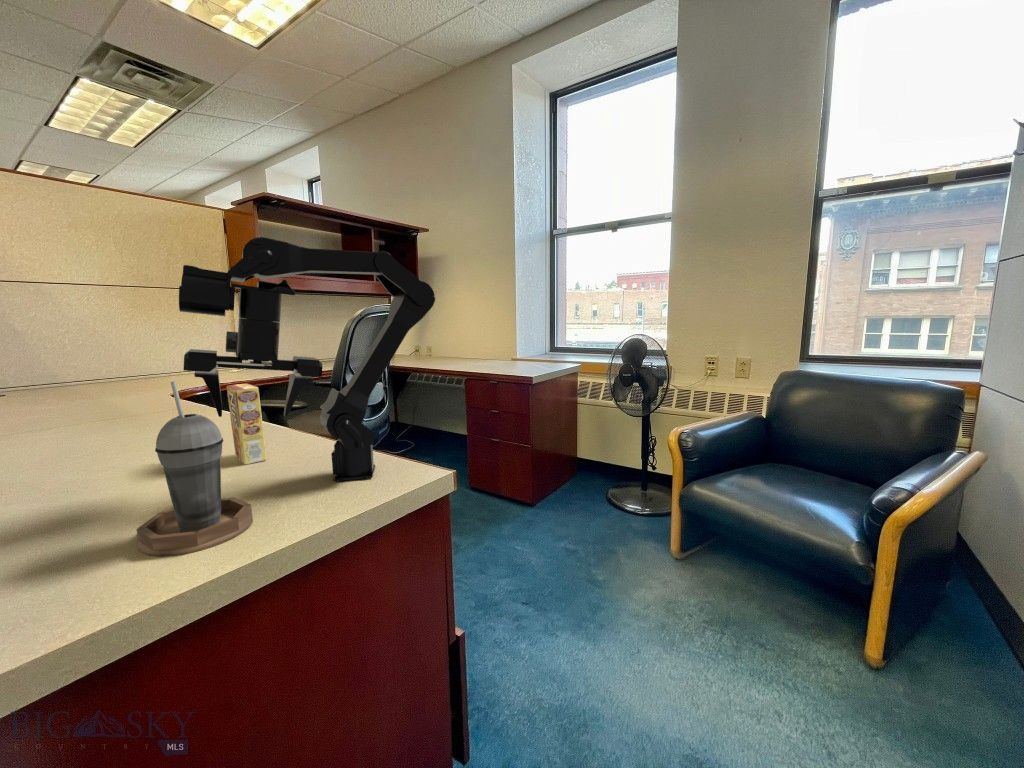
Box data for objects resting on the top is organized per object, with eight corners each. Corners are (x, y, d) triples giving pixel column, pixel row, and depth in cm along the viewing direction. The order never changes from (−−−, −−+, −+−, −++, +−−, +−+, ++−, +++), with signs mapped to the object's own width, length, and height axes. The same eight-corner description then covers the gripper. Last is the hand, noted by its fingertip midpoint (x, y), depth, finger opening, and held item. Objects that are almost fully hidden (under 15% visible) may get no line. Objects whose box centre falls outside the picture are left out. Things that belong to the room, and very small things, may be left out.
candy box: (267, 460, 89) (260, 386, 87) (244, 465, 86) (235, 389, 84) (255, 451, 95) (248, 382, 93) (233, 456, 92) (225, 385, 90)
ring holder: (265, 507, 66) (264, 493, 66) (231, 548, 54) (230, 532, 54) (171, 516, 64) (169, 501, 63) (113, 562, 52) (111, 544, 51)
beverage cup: (212, 539, 55) (193, 384, 53) (152, 541, 55) (130, 385, 52) (243, 514, 63) (228, 376, 60) (190, 516, 62) (172, 378, 59)
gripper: (314, 325, 81) (308, 407, 83) (189, 311, 71) (185, 406, 72) (326, 327, 72) (319, 420, 74) (185, 312, 61) (181, 420, 63)
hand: (254, 416), depth 71 cm, fingers open, 9 cm apart
